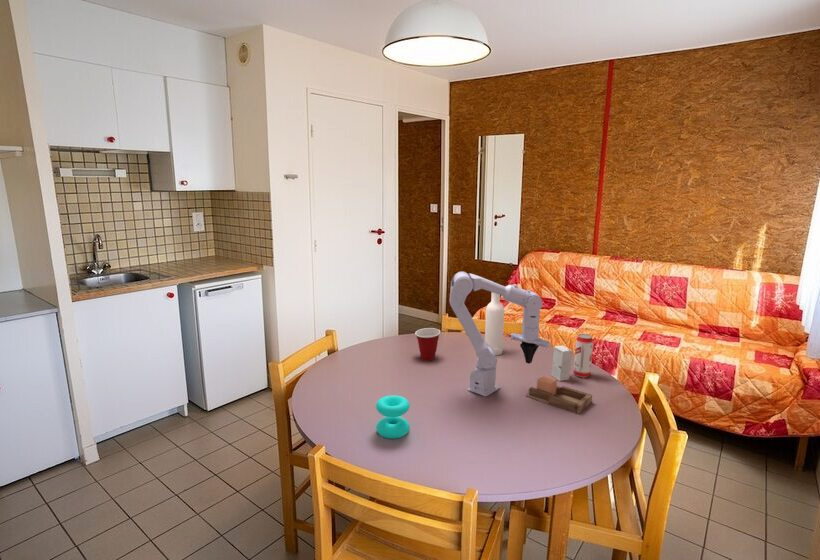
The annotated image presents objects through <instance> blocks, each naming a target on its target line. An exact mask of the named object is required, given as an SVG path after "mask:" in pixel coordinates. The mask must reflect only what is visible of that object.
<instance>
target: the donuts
mask: <svg viewBox="0 0 820 560" xmlns="http://www.w3.org/2000/svg"><path fill="white" fill-rule="evenodd" d="M375 408H376V411H377V412H378V414H380V415H382V416H384V417H382V418H381V419H379V421H377V423H376V429H375V430H376V432H377V434H378V435H380V436H381V437H383V438H386V439H400V438H402V437H404V436H406V435H407V434H408V433H409V432H410V423H409V421H407V419H406V418H404V417H403V416H404V415H405V414H406V413H408V412H409V409H410V402H409V401H408V399H407V398H405V397H404V396H400V395H396V394H395V395H394V394H391V395H386V396H385V395H384V396H383V397H381V398H379V399H378V400H377V401H376V403H375Z"/></svg>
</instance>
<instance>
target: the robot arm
mask: <svg viewBox="0 0 820 560" xmlns="http://www.w3.org/2000/svg"><path fill="white" fill-rule="evenodd" d="M480 290H485V291H488V292H490V293H492V292H494V293H497V294H500V296H502V298H503V300H504V301H506V302H509V303H512V304H515V305H518V306H520V307H523V313H522V325H521V326H522V327H521V328H522V329H521V334H520V333H514V332H512V333H510V340H512V341H514V340H515V341H518V342H521V343H520V344H519V345H520V348H521V350H522V353H523V356H524V359H525V363H526V364H528V365H529V364H532V362H533V360H534V359H533V358H534V356H535V354H536V351H537V350H538V348H539V347H543V348H545V349H546V350H547V349H549V348H551V341H548V340H545V339H543V338H540V337H539V334H540V333H539V331H540V318H541V309H542V307H543V304H544V303H543V301H542V298H541V297H540V296H539V295H538V293H536V292H534V291H532V290H530V289H523V288H520V287H519V286H518V285H517V284H515V283H514V284H508V285H506V286H505V285H501V284H500V283H497V282H494V281H492V280H490V279H487V278H485V277H483V276H479V275H477V274H473V273H467V272H466V271H458V272H457V273H455V274H454V275H453V277H452V279H451V281H450V289H449V291H450V293H449V301H448V302H449V305H450V307H451V309H452V310H453V313H454V314H455V316H456V318H457V319H458V321H459V323H460V325H461V327H462V329H463V331H464V332H465V334H466V336H467V337H468V339H469V341H470V343H471V345H472V346H473V349H474V351H475V354H476V357H477V360H476V362H475V368H474V370H472V371H471V372H470V374H469V387H468V388H467V391H469V392H472V393H474V394H478V395H480V396H483V397H488V396H489V395H492V394H493V393H494V392H497V391H498V390H499V389H501V387H500V386H498V385H496V376H497V372H496V371H497V364H498V359H497V355H495V354H494V352H493V349H492V347H491V346H490V345H488V344H487V343H486V341H485V337H483V335H482V333H481V331H480V329H479V328H478V325H477V324H476V322H475V321H474V319H473V316H472V315H471V313H470V312H469V309H468V308H467V306H466V305H465V304H466V303H465V301H466V300H467V296H468V295H469V294H470V293H471V292H472V291H473V292H476V291H480Z"/></svg>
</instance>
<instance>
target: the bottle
mask: <svg viewBox="0 0 820 560" xmlns="http://www.w3.org/2000/svg"><path fill="white" fill-rule="evenodd" d="M490 293H491V297H490V298H491V299H490V300H491V301H490V302H489V303H488V304H487V306H486V307H485V324H484V325H485V326H484V328H485V329H484V330H485V331H484V340H485V341H486V343H487V344H488V345H490V346H491V347H492V349H493V352H494V354H495V356H500V355H502V354H503V349H504V347H503V345H504V343H503V342H504V324H505V308H504V304H502V303H501V302H500V301H501V295H500V294H497V293H494V292H490Z"/></svg>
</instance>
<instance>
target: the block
mask: <svg viewBox="0 0 820 560" xmlns="http://www.w3.org/2000/svg"><path fill="white" fill-rule="evenodd" d="M557 386H558V380H557V379H556V378H554V377H550V376H548V375H542V376H541V377H539V378H538V379H537V380H536V388H537V389H539V390H542V391H546V392H549V393H552V396H554V395H555V394H556V389H557Z"/></svg>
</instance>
